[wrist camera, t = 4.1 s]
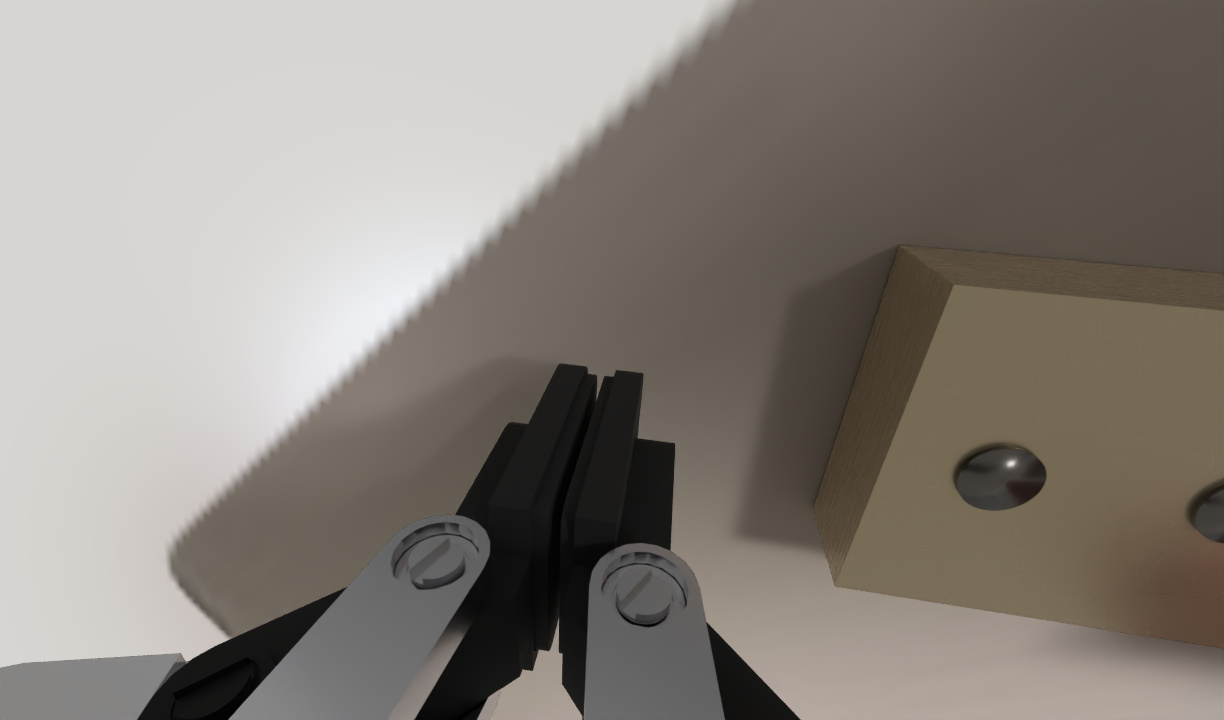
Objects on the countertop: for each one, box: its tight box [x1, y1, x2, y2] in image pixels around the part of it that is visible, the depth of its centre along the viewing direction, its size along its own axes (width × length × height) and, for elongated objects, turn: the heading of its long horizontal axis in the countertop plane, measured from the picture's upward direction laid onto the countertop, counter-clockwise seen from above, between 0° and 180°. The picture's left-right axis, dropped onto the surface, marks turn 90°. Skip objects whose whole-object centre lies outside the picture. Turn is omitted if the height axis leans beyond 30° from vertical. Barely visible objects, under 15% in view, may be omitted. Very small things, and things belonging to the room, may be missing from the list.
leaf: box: [813, 245, 1224, 648], centre depth 10 cm, size 7×8×2 cm
